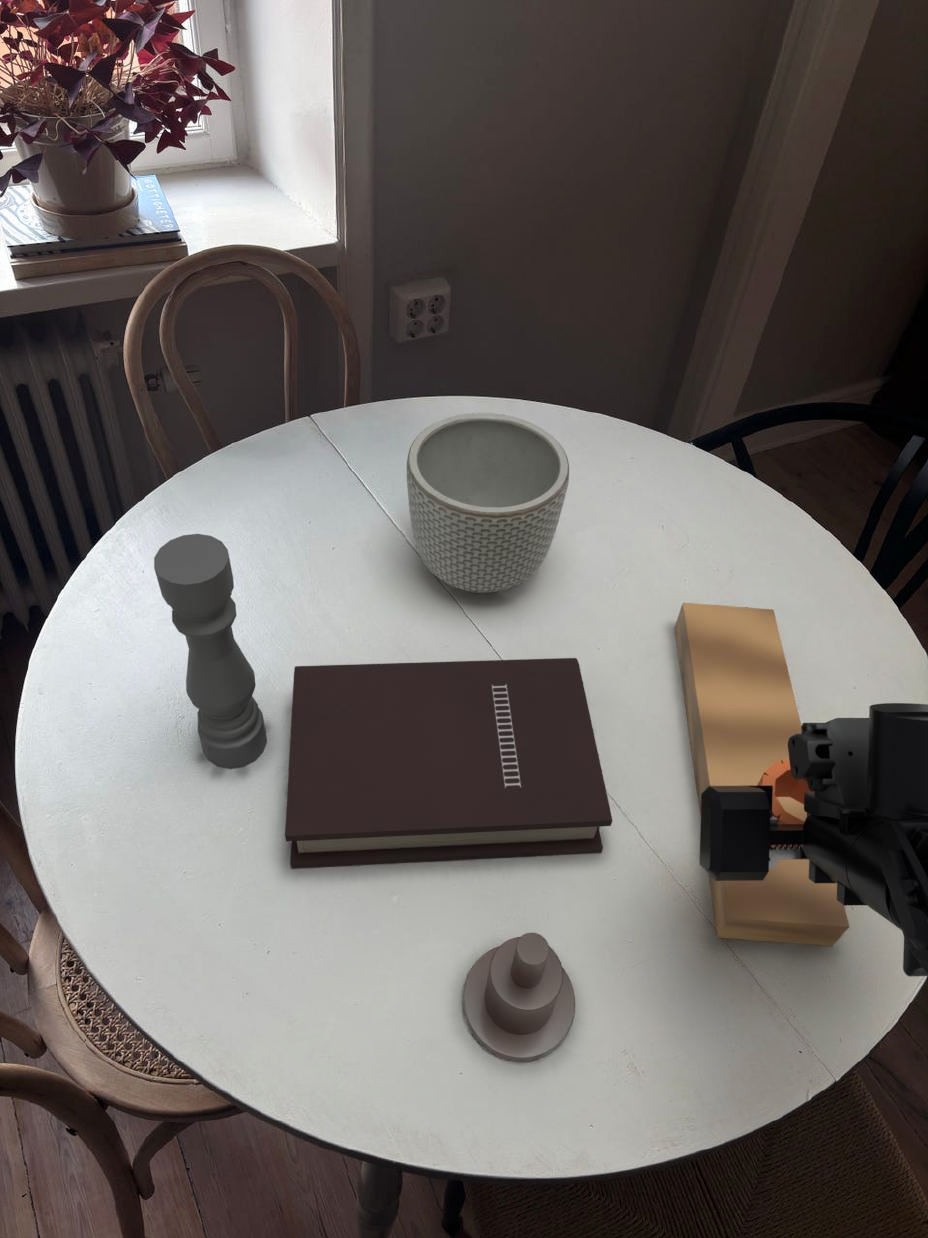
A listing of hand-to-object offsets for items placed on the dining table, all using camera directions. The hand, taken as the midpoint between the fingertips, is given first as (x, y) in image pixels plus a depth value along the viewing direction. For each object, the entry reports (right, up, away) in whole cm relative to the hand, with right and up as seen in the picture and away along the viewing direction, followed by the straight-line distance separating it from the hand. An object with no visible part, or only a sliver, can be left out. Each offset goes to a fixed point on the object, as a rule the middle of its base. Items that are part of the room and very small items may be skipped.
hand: (786, 802), depth 72 cm
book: (-28, 0, +16) cm, 32 cm away
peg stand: (-21, -17, +2) cm, 27 cm away
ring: (0, -1, 0) cm, 1 cm away
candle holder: (-48, +2, +17) cm, 51 cm away
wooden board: (+2, 0, +18) cm, 19 cm away
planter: (-24, +20, +35) cm, 47 cm away
